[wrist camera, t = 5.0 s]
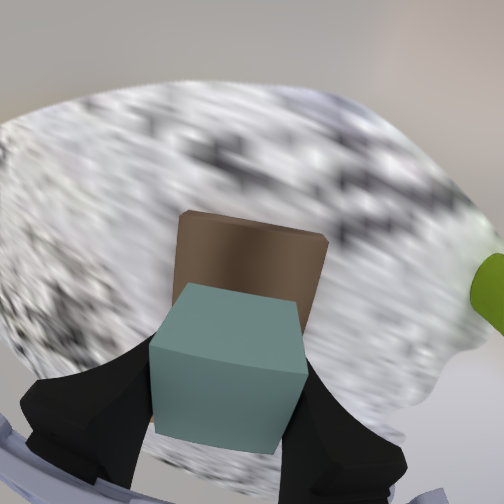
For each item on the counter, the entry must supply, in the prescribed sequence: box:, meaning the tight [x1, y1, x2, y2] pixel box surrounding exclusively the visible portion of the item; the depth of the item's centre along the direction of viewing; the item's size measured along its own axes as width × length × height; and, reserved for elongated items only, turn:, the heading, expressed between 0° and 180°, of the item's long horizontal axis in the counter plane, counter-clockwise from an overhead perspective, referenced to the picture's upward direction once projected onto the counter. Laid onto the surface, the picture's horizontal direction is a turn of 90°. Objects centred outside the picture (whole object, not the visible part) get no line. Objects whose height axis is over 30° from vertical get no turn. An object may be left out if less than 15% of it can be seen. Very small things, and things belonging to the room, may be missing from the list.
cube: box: [149, 282, 309, 455], centre depth 11 cm, size 5×5×5 cm
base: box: [172, 210, 329, 336], centre depth 19 cm, size 9×9×2 cm
